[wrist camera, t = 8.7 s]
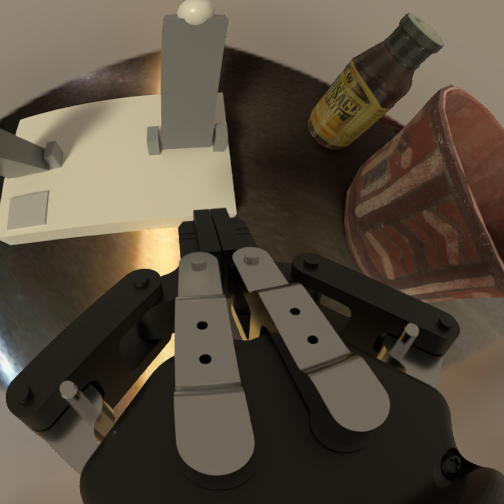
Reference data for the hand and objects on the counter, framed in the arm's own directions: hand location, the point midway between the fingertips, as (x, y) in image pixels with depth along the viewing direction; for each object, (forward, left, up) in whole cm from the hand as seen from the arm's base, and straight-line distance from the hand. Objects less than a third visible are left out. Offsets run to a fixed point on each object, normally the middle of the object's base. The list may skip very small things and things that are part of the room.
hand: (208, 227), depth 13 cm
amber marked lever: (-8, +8, -10) cm, 15 cm away
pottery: (+14, +17, -13) cm, 26 cm away
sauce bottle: (+1, +23, -13) cm, 27 cm away
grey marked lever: (-19, -4, -10) cm, 22 cm away
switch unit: (-14, +2, -13) cm, 19 cm away
